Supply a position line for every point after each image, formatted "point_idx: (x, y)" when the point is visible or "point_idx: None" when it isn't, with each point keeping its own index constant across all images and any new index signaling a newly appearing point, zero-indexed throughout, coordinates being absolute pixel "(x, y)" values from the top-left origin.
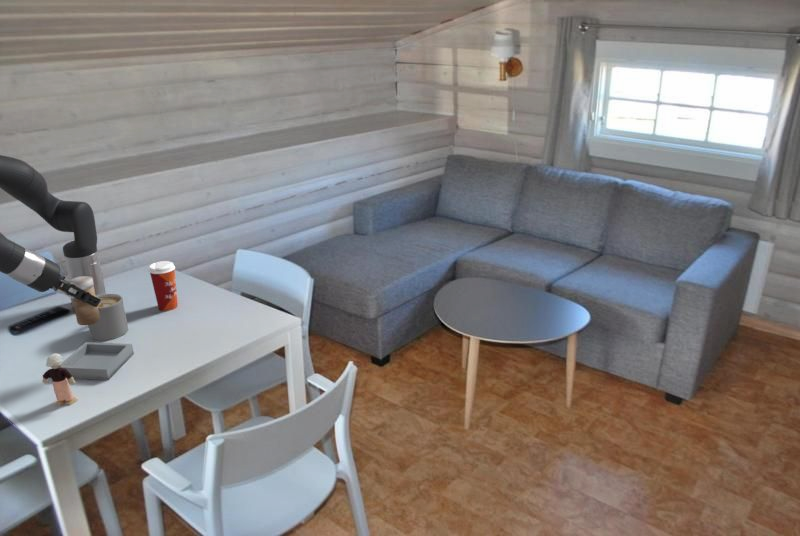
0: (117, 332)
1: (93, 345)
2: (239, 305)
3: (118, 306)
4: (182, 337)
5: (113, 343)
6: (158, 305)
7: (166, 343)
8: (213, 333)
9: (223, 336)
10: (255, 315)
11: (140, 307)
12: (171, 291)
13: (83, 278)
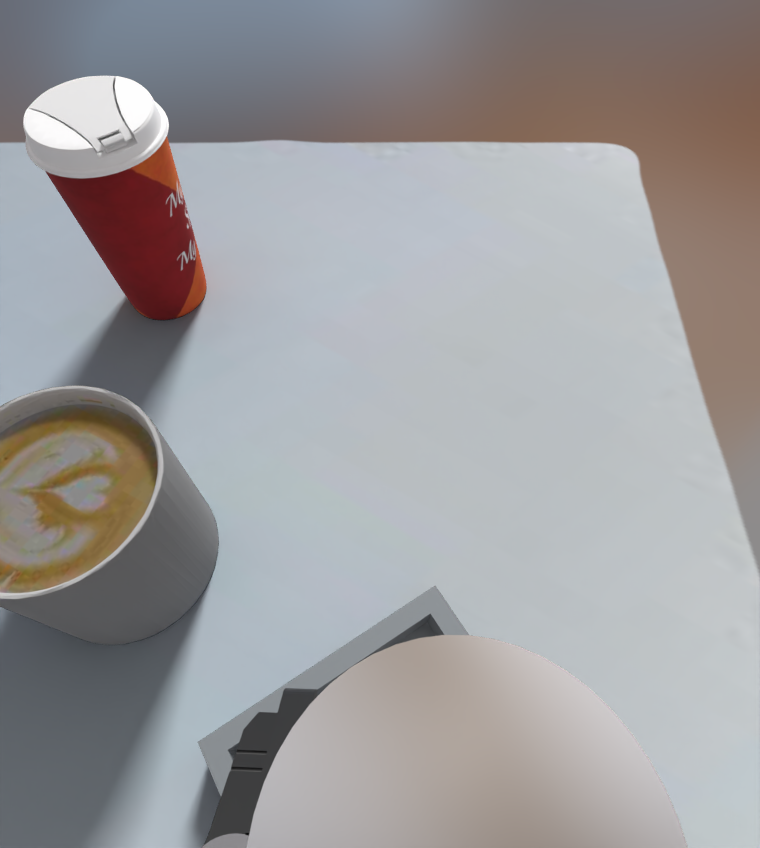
0: (210, 546)
1: None
2: (394, 170)
3: (170, 457)
4: (457, 395)
5: (350, 645)
6: (148, 307)
7: (454, 459)
8: (520, 317)
9: (571, 311)
10: (506, 183)
11: (60, 350)
12: (189, 226)
13: (412, 768)
